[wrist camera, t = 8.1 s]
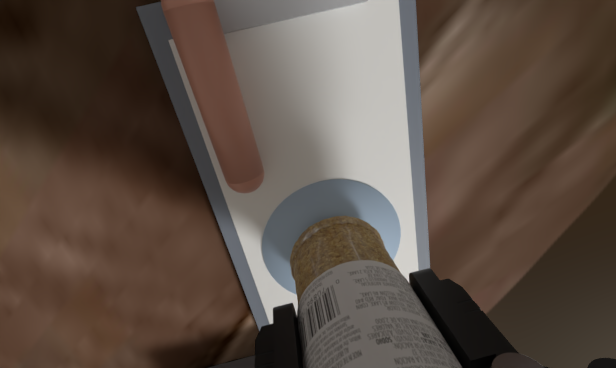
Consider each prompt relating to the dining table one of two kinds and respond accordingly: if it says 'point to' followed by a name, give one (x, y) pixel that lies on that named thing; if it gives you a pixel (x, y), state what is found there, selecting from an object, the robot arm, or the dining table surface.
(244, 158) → the pink rounded rod
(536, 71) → the dining table surface
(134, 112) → the dining table surface
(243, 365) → the button box
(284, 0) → the tray with round recess
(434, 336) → the sprinkles bottle
